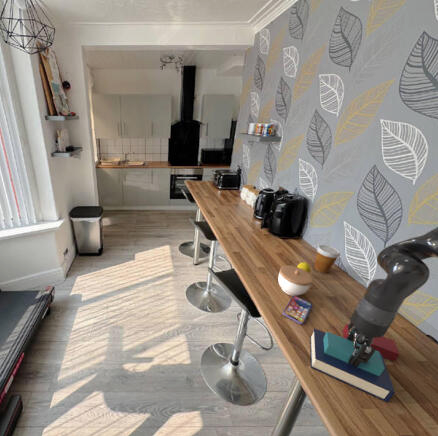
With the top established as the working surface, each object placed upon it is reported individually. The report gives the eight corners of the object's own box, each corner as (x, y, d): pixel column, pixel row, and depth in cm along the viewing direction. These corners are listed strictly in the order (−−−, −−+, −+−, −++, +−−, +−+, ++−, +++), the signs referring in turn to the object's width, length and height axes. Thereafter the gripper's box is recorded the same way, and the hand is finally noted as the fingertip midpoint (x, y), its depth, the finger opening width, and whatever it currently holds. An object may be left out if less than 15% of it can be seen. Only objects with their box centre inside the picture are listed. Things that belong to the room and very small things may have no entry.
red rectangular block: (389, 347, 81) (394, 340, 79) (394, 361, 76) (399, 354, 74) (342, 330, 87) (346, 323, 85) (344, 342, 82) (348, 335, 80)
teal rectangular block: (374, 359, 71) (379, 351, 70) (379, 376, 67) (384, 368, 65) (323, 339, 77) (326, 331, 76) (324, 353, 73) (328, 345, 71)
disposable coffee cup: (306, 265, 124) (313, 245, 120) (319, 262, 127) (326, 243, 122) (323, 276, 116) (331, 255, 111) (336, 273, 119) (345, 253, 114)
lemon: (296, 271, 119) (301, 258, 116) (309, 276, 115) (314, 263, 112) (292, 275, 116) (297, 262, 113) (305, 281, 112) (310, 267, 109)
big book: (376, 364, 75) (382, 354, 73) (387, 402, 65) (395, 392, 63) (309, 337, 83) (314, 328, 81) (310, 367, 73) (315, 358, 71)
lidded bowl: (284, 300, 100) (292, 279, 95) (269, 281, 111) (275, 261, 107) (313, 300, 100) (322, 279, 96) (295, 281, 112) (302, 262, 107)
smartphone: (312, 305, 97) (302, 325, 88) (293, 296, 102) (281, 314, 92) (313, 304, 97) (303, 324, 87) (294, 294, 102) (282, 312, 92)
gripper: (400, 340, 58) (371, 382, 64) (384, 304, 69) (361, 343, 76) (361, 326, 61) (337, 367, 68) (352, 294, 72) (332, 332, 79)
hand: (350, 354), depth 72 cm, fingers open, 7 cm apart
